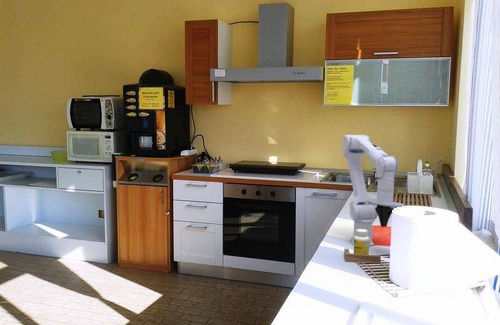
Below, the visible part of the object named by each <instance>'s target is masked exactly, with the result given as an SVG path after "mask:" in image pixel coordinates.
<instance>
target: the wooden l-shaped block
mask: <svg viewBox="0 0 500 325" xmlns="http://www.w3.org/2000/svg"><path fill="white" fill-rule="evenodd" d="M343 255H344V262H348V263H364V264H381V261H382V257H381V254H379V255H378V254H369V255H367V254H354V253H350V249H349V248H344V252H343Z"/></svg>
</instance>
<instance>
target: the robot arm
mask: <svg viewBox="0 0 500 325" xmlns="http://www.w3.org/2000/svg"><path fill="white" fill-rule="evenodd" d="M341 147H342V153H343V156H344V158H346V162H347V166H348V170H349V176H350V180H351V184H352V185H351V186H352V191H353V197H354V198H353V199H352V200H351V201H350V202H349V216H350V218H351V220H352V221H353V236H352V237H351V241H352V245H353V246H354V237H355V236H356V235H357V234H356V230H357V229H365V230H367V231H368V235H367V236H368V237H369V247H371V246H374V245H375V244H374V242H373V228H374V227H373V224H374V222H375V220H376V219H377V217H378V220H379V223H380V224H379V225H380V227H382V228H386V227H387V226H388V223H389V220H390V218H391V215H392V214H393V212H392V210H393V209H394V208H397V207H402V206H405V203H399V202H396V201H394V190H395V186H394V185H395V173H396V172H397V171H398V169H399V161H398V159H397V157H396V156H394V155H393V156H390V155H389V154H387V153H386V152H385V151H384V150H383V149H382V148H381V147H380V146H374V145H373V143H372V142H371V140H370V137H369V135H367V134H345V135H344V136H343V137H342V141H341ZM366 154H367V158H368V160H369V161H370V162H372V163H373V165H374V168H375V171H376V174H375V175H376V177H377V184H376V185H377V186H376V189H377V190H376V192H377V193H376V199H374V198H372V197H371V196H369V195H368V191H367V190H368V189H367V186H366V181H365V177H364V171H363V168H362V162H361V159H362V158H364V157H365V156H366ZM394 210H395V209H394ZM394 210H393V211H394Z"/></svg>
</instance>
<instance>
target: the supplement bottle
mask: <svg viewBox="0 0 500 325" xmlns="http://www.w3.org/2000/svg"><path fill="white" fill-rule="evenodd" d="M356 234H357V235H356V236H355V237H354V236H353V237H354V245H353V254H367V255H370V245H369V237H368V236H367V235H368V231H367V230H365V229H357V230H356Z"/></svg>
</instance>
